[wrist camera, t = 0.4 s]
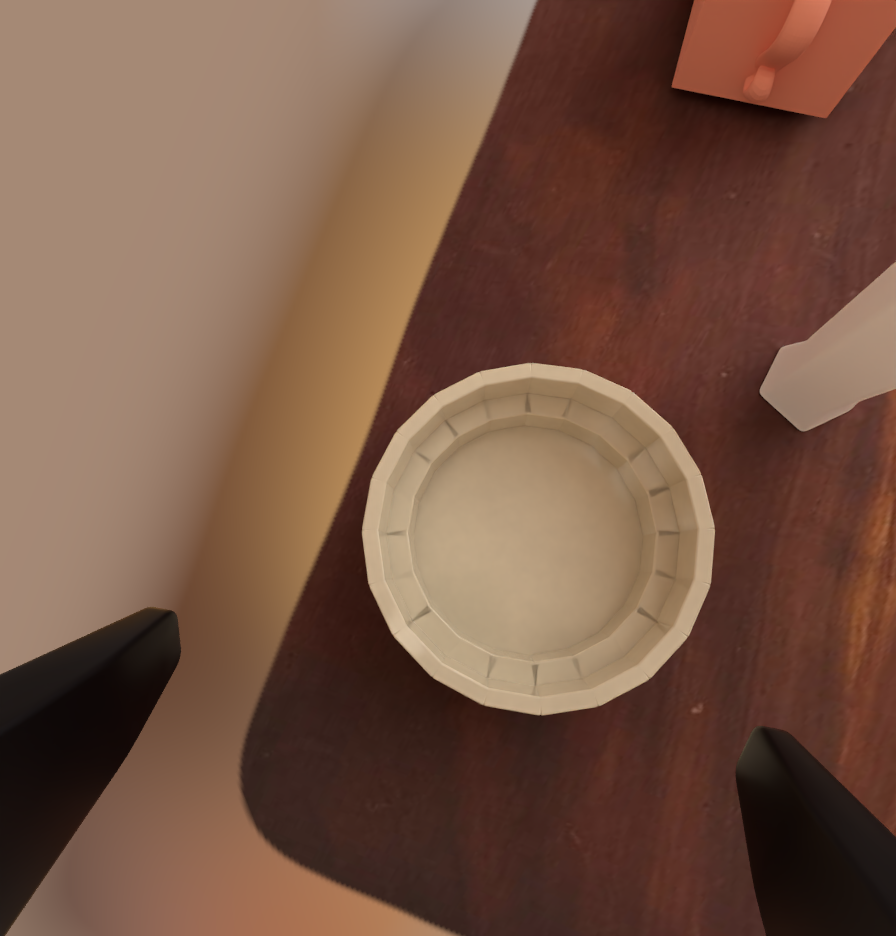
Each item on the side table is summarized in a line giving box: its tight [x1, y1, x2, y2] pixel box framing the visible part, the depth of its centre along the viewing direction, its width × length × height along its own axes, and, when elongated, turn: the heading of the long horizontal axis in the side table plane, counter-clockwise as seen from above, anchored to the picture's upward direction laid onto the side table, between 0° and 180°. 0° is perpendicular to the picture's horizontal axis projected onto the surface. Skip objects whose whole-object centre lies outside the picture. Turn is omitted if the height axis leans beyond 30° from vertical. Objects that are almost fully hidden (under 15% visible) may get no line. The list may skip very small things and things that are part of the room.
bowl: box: [362, 363, 715, 715], centre depth 22 cm, size 12×12×4 cm
